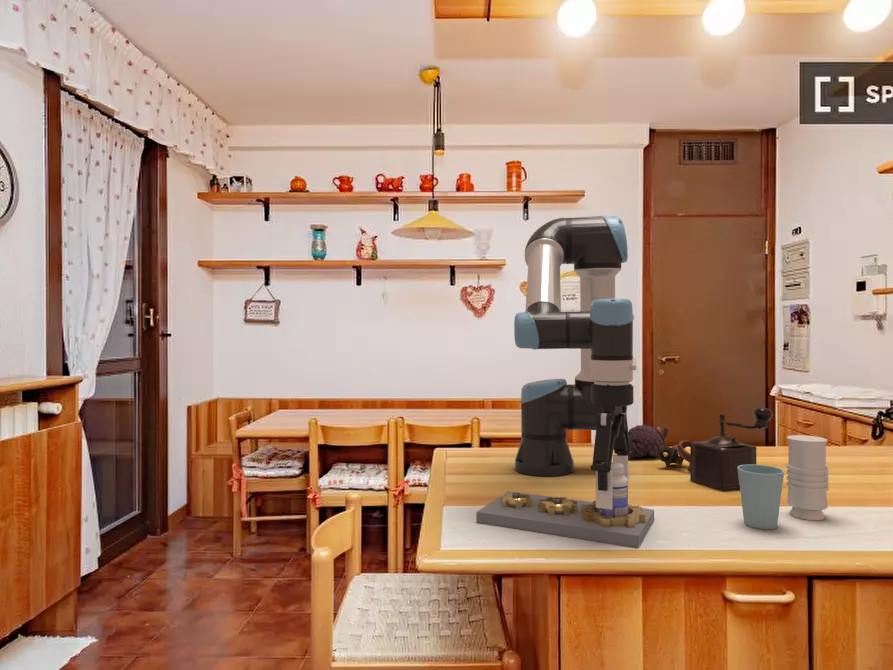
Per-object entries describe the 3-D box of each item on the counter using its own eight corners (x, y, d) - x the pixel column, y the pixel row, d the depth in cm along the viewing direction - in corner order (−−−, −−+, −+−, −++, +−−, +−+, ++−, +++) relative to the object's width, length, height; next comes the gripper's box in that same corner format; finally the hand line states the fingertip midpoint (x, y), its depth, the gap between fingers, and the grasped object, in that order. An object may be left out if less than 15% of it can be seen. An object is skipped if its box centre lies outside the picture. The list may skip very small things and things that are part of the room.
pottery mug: (690, 465, 162) (703, 441, 158) (701, 489, 153) (715, 464, 149) (647, 455, 161) (660, 430, 157) (656, 478, 152) (670, 453, 149)
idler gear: (495, 506, 118) (495, 495, 118) (507, 498, 124) (507, 488, 124) (525, 510, 115) (525, 499, 115) (536, 502, 121) (536, 491, 121)
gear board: (476, 522, 115) (476, 511, 115) (508, 500, 129) (508, 491, 129) (638, 547, 101) (638, 535, 101) (654, 520, 115) (654, 509, 115)
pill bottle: (599, 511, 114) (598, 460, 114) (629, 513, 112) (628, 461, 112) (597, 520, 109) (595, 467, 109) (628, 523, 107) (627, 468, 107)
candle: (828, 523, 112) (828, 443, 112) (785, 517, 116) (785, 439, 115) (828, 513, 118) (828, 437, 118) (787, 508, 121) (787, 434, 121)
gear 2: (572, 522, 108) (572, 514, 108) (589, 504, 119) (589, 497, 118) (640, 531, 103) (640, 523, 103) (651, 512, 113) (651, 505, 113)
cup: (729, 524, 112) (730, 468, 112) (748, 515, 117) (748, 462, 117) (773, 534, 106) (773, 476, 106) (790, 525, 111) (790, 469, 111)
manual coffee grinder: (724, 492, 133) (724, 411, 133) (688, 481, 143) (688, 405, 143) (777, 485, 138) (777, 407, 138) (739, 474, 149) (739, 402, 148)
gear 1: (532, 512, 114) (532, 501, 114) (545, 502, 121) (545, 491, 121) (571, 518, 110) (571, 506, 110) (582, 506, 117) (582, 496, 117)
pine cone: (637, 464, 160) (618, 431, 164) (620, 475, 169) (601, 443, 172) (685, 441, 167) (665, 410, 171) (666, 452, 176) (647, 422, 179)
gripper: (618, 390, 97) (619, 520, 98) (645, 378, 120) (645, 484, 120) (572, 388, 101) (573, 514, 101) (607, 376, 123) (607, 480, 123)
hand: (612, 498), depth 111 cm, fingers open, 13 cm apart
